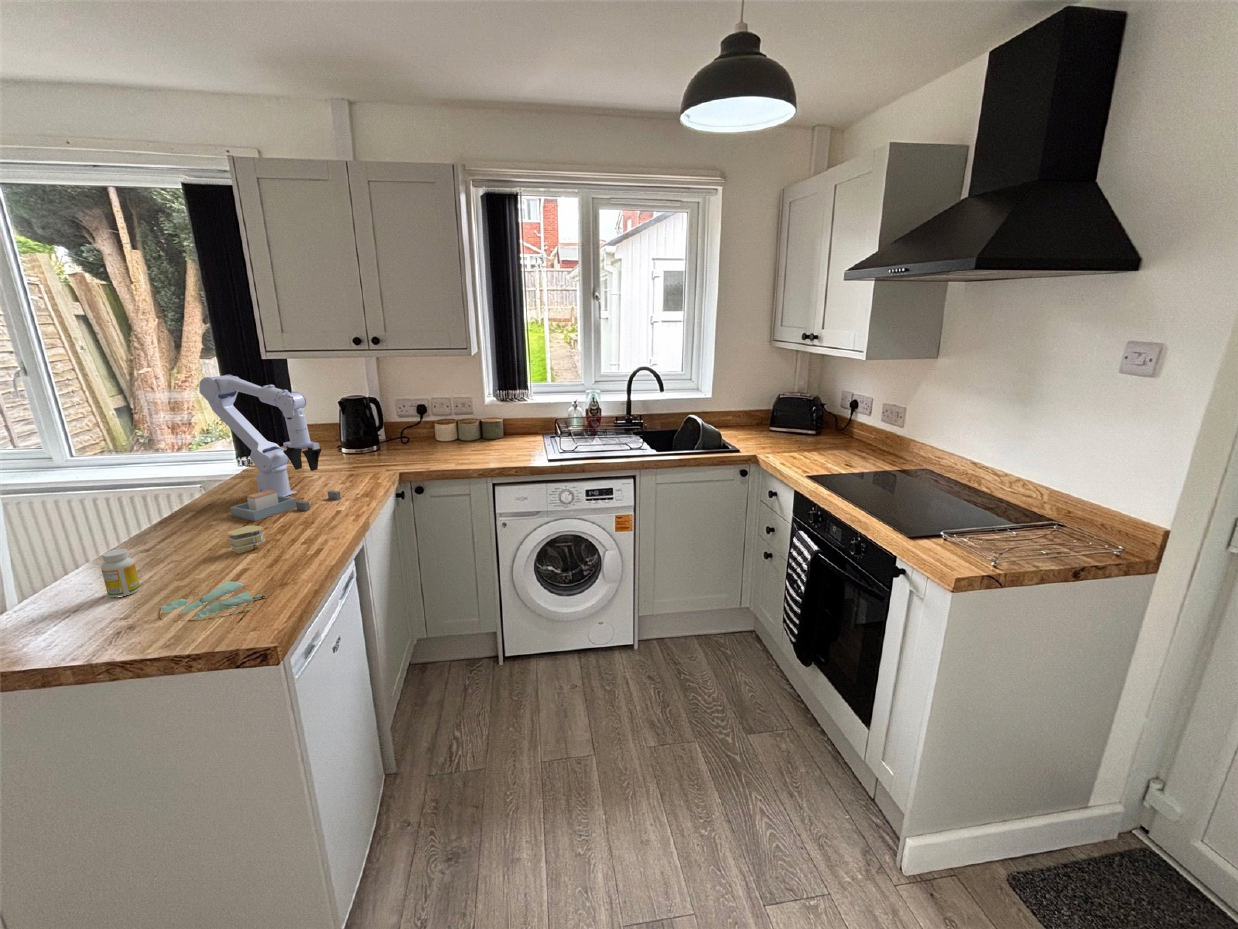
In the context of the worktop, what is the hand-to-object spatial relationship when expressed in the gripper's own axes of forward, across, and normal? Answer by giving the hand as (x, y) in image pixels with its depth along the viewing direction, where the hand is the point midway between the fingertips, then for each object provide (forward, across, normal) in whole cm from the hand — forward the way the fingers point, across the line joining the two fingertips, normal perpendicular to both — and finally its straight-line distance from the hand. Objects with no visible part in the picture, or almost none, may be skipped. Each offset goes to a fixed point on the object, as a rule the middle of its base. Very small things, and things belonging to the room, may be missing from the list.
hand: (306, 469), depth 182 cm
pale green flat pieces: (+12, +46, -57) cm, 74 cm away
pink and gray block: (+9, 0, -16) cm, 19 cm away
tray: (+9, 0, -16) cm, 19 cm away
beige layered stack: (+11, +24, -37) cm, 45 cm away
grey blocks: (+10, +9, -4) cm, 14 cm away
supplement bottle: (+10, +22, -64) cm, 68 cm away
